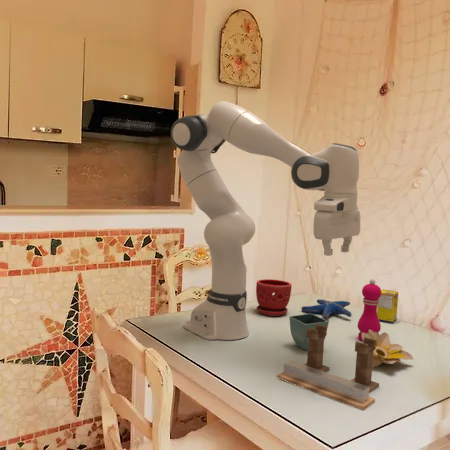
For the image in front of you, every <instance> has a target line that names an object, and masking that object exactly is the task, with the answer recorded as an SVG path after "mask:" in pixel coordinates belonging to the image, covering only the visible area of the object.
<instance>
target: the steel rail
mask: <svg viewBox="0 0 450 450" xmlns="http://www.w3.org/2000/svg"><path fill="white" fill-rule="evenodd" d="M283 372H284V373H283V375H286V376H289V377H292V378H294V379H297V380H300V381H303V382H305V383H308V384H311V385H314V386H316V387H319V388H322V389H325V390H327V391H330V392H333V393H336V394H338V395H341V396H344V397H347V398H349V399H352V400H355V401H358V402H360V403H364V402H365V401H367V400H368V398H369V397H370V396H369V394H370V393H369V387H368V386H365V385H362V384H359V383H356V382H353V381H350V380H351V379H347V378H344V377H341V376H337V375H335V374H333V373H329V372H328V371H327V372H324V371H321V370H318V369H315V368H312V367H309V366H306V365H304V364H302V363H300V362H297V361H293V360H289V361H286V362H284V363H283Z"/></svg>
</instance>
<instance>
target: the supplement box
mask: <svg viewBox="0 0 450 450" xmlns="http://www.w3.org/2000/svg"><path fill="white" fill-rule="evenodd" d="M378 300H379V304H378V305H377V316H378V319H379V321H380V322H383V323H389V324H394V323H395V322H394V321H396V320H397V317H398V315H397V314H398V306H399V305H398V304H399V291H397V290H396V291H395V290H389V289H381V296H380V297H379V298H378Z"/></svg>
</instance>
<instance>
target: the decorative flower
mask: <svg viewBox="0 0 450 450" xmlns="http://www.w3.org/2000/svg"><path fill="white" fill-rule="evenodd" d="M379 333H380V332H378V333H377V332H373V331H372V330H370V329H369V333H367V334H365V333H362V334H361V336H362V339H363V341H364V337H367V338H371V339H374V340H376V349H375V350H374V351H373V364H372V369H373V368H377V367H379V366H380V365H382V364H386V365H390V364H391V365H392V364H395V363H396V362H397V363H398V362H399V363H400V362H401V361H402V360H405V361H406V360H407V361H408V360H410V361H411V360H412V361H413V360H414V357H413V355H412V354H411V353H409V351H406V350H404V348H403V346H402V345H400V344H397V343H391V340H390V335H389V334H388V333H387V332H385V331H384V332H382V333H380V334H379ZM363 341H362V342H363Z"/></svg>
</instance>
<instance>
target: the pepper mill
mask: <svg viewBox="0 0 450 450" xmlns="http://www.w3.org/2000/svg"><path fill="white" fill-rule="evenodd" d="M381 290H382V289H381V287H380V286H379V285H377V284H376V280H375V279H370V280H369V283H368V284H365V285H363V287H362V290H361V294H362V296H363V298H362V303H363V305H364V306H363V312H362V314H361V316H360V318H359V319H358V322H357V329H358V330H359V332H358V334H357V335H358V336H357V339H358V340H359V341H360V342H362V343H363V342H364V341H363V339H362V336H361V334H362V333H365V334H367V333H369V329H370V330H372V331H373V332H377V333H380V331H381V329H382V328H381V321H379V319H378V316H377V305H378V304H379V300H378V298H379V297H380V296H381Z"/></svg>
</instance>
